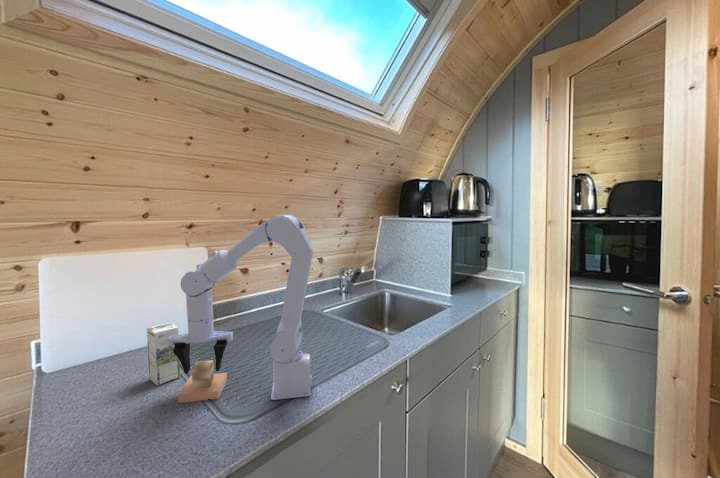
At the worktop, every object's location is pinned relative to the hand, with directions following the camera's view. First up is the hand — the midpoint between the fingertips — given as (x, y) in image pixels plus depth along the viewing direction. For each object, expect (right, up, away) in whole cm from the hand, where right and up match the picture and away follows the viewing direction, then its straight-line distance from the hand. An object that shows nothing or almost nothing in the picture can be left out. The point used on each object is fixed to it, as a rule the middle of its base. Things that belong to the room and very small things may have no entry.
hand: (203, 370), depth 81 cm
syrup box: (-13, -5, +6) cm, 15 cm away
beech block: (0, -3, 0) cm, 3 cm away
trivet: (0, -6, +1) cm, 6 cm away
